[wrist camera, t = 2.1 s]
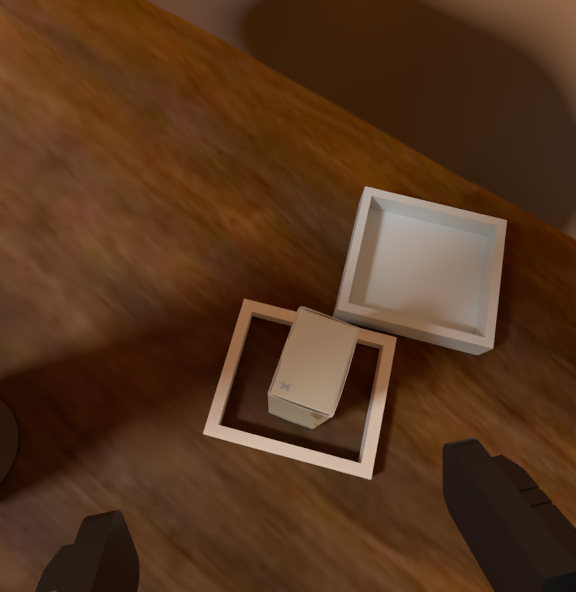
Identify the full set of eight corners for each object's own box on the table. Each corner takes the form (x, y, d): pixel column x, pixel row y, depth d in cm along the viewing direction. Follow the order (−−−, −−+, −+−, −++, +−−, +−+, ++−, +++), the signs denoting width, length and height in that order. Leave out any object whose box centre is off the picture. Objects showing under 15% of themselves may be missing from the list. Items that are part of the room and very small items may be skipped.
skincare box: (314, 430, 38) (332, 425, 26) (266, 412, 38) (263, 399, 26) (337, 360, 40) (363, 326, 28) (291, 343, 40) (299, 303, 28)
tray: (477, 355, 40) (493, 348, 37) (332, 318, 41) (336, 309, 38) (491, 234, 44) (507, 220, 41) (359, 202, 45) (365, 186, 42)
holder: (367, 478, 37) (371, 479, 35) (205, 434, 37) (202, 434, 36) (392, 341, 40) (396, 337, 39) (245, 303, 41) (244, 298, 40)
